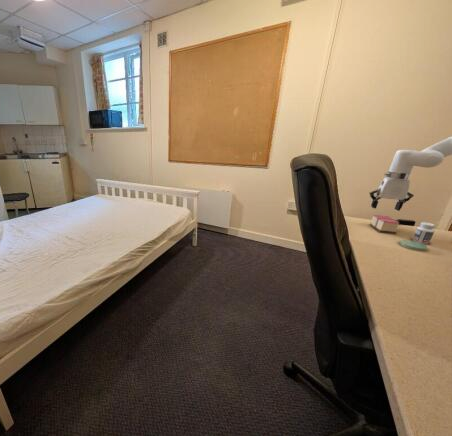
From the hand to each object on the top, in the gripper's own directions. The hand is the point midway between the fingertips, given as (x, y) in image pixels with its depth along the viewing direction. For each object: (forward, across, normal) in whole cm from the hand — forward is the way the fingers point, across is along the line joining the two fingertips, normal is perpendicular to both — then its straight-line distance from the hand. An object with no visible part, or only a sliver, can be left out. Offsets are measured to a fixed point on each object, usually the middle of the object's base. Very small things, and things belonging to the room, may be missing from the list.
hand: (385, 208), depth 114 cm
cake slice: (+9, 0, 0) cm, 9 cm away
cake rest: (+9, 0, -6) cm, 11 cm away
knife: (+9, +4, -3) cm, 11 cm away
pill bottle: (+10, +9, -15) cm, 21 cm away
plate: (+10, +3, -23) cm, 25 cm away
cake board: (+10, 0, -3) cm, 11 cm away
